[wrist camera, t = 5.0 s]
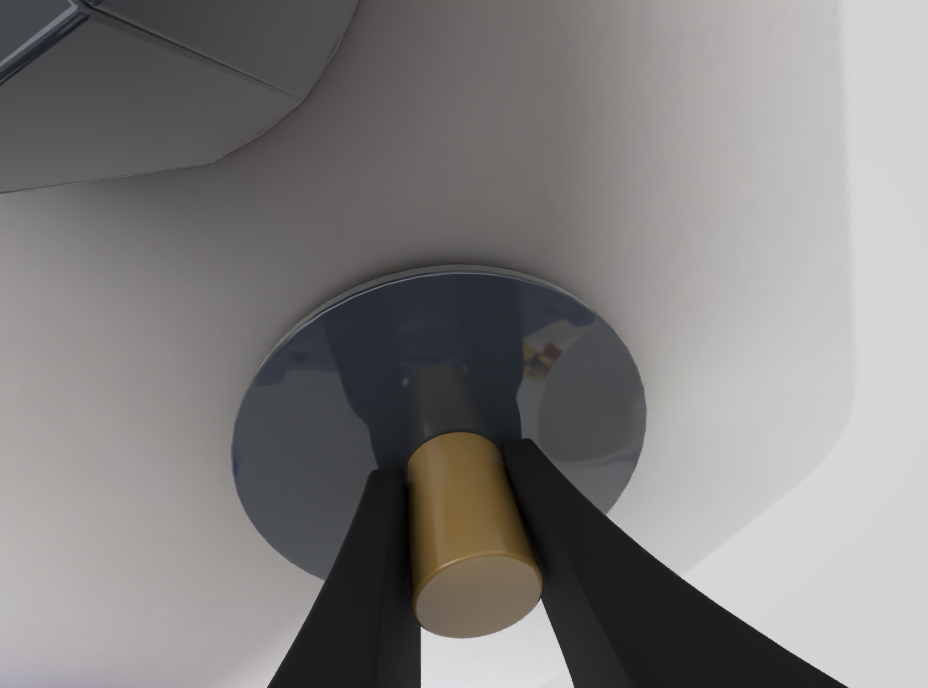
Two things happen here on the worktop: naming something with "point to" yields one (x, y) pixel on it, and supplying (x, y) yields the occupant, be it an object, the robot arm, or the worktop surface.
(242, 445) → the lid
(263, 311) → the worktop surface
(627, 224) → the worktop surface
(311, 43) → the pot
